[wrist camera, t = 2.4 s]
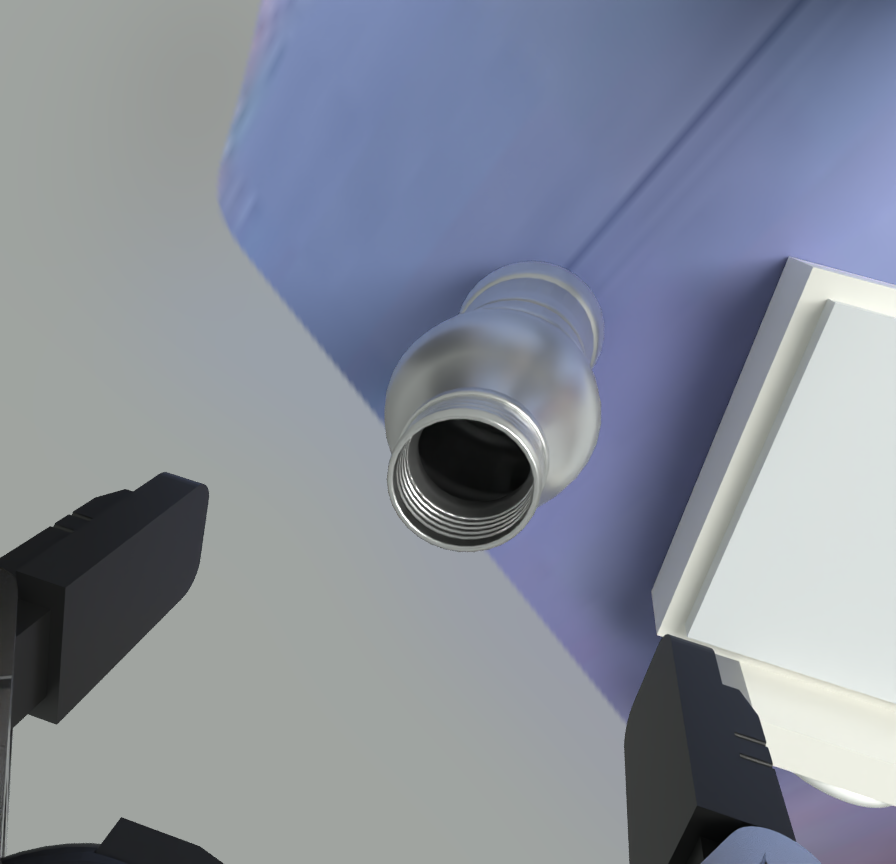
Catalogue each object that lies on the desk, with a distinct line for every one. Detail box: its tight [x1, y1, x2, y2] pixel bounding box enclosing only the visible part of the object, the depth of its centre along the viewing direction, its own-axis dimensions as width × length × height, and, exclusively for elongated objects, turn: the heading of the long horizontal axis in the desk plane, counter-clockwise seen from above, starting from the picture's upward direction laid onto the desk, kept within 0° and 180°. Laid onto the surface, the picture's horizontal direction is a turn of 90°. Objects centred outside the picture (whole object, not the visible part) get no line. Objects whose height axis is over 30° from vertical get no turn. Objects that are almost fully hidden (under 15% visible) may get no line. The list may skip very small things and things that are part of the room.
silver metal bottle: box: [385, 261, 604, 552], centre depth 27 cm, size 6×7×20 cm
